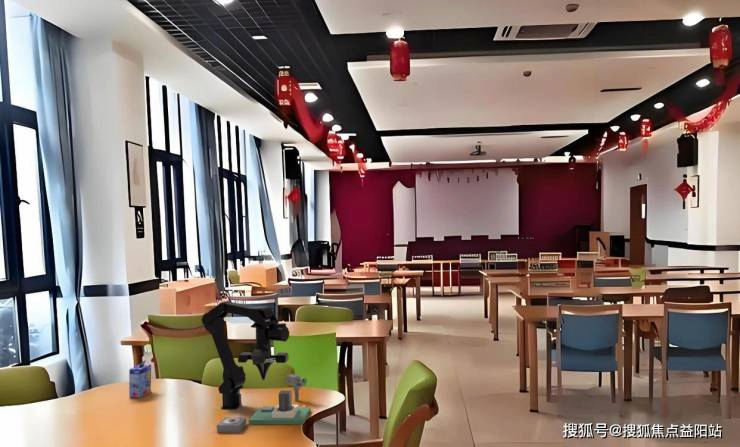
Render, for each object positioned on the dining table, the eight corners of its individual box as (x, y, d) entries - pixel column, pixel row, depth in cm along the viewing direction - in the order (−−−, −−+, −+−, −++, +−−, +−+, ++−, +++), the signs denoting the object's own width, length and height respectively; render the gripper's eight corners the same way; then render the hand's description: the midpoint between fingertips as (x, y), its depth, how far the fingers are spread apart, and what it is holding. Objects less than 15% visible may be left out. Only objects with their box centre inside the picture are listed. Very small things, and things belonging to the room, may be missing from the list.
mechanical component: (303, 403, 222) (302, 378, 222) (285, 399, 228) (284, 375, 229) (308, 401, 225) (307, 377, 225) (290, 397, 231) (289, 373, 231)
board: (248, 424, 200) (248, 414, 200) (259, 411, 214) (259, 402, 214) (303, 424, 199) (303, 414, 199) (310, 411, 213) (310, 402, 213)
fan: (217, 432, 193) (216, 424, 193) (224, 424, 201) (224, 416, 201) (239, 432, 193) (239, 424, 193) (246, 424, 201) (246, 416, 201)
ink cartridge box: (141, 398, 236) (140, 364, 236) (128, 398, 237) (127, 364, 237) (152, 391, 246) (151, 358, 246) (140, 391, 247) (139, 358, 247)
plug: (278, 416, 204) (277, 394, 204) (281, 411, 209) (281, 390, 209) (289, 416, 203) (288, 394, 203) (292, 411, 208) (291, 390, 208)
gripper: (233, 343, 207) (233, 385, 207) (282, 344, 206) (282, 386, 206) (242, 337, 218) (242, 377, 218) (288, 337, 217) (289, 377, 217)
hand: (263, 379), depth 215 cm, fingers closed
